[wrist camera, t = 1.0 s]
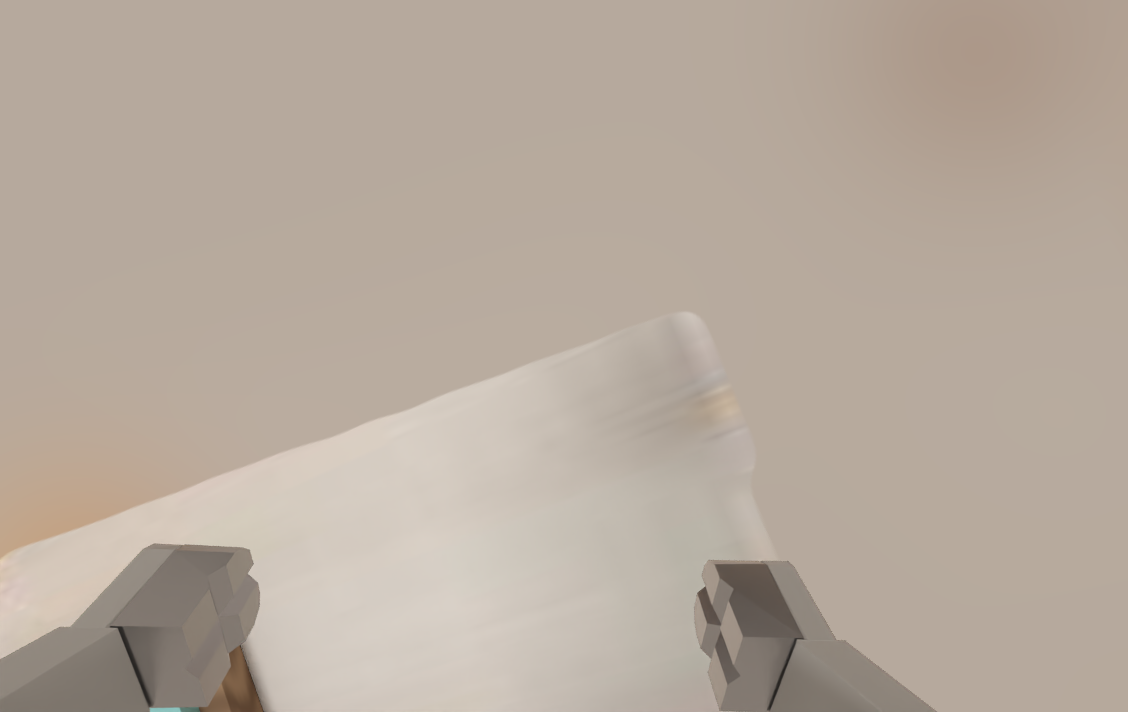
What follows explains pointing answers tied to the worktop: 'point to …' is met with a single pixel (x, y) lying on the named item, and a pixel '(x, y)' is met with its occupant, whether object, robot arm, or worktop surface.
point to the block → (176, 709)
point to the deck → (235, 689)
